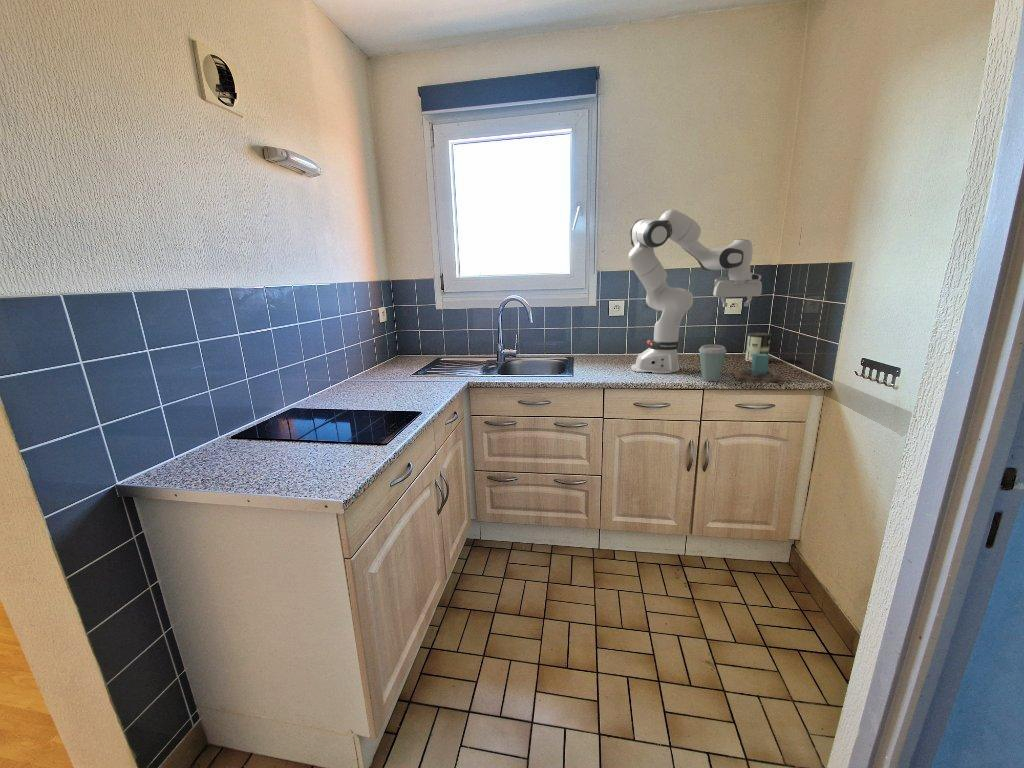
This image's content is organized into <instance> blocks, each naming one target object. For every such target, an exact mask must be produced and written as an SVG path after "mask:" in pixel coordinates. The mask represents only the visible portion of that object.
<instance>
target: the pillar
mask: <svg viewBox="0 0 1024 768" xmlns="http://www.w3.org/2000/svg"><path fill="white" fill-rule="evenodd" d="M769 360H770V355H769V354H768V355H767V354H753V358H752V362H751V367H750V369H751V373H757V374H767V370H768V366H769Z"/></svg>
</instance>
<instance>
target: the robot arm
mask: <svg viewBox="0 0 1024 768" xmlns="http://www.w3.org/2000/svg"><path fill="white" fill-rule="evenodd" d="M701 233H702V229H701V226H700V225H699V224H698V222H697V221H695V220H694V219H692V218H691V217H689V216H688V215H686V214H685V213H683V212H681V211H678V210H676V209H667V210H666V211H664V212H663V213H662V214H661V216H660V217H659V218H658V219H653V218H640V219H638V220H636V221H634V222H633V223H632V225H631V226H630V230H629V236H630V242H631V243H630V244H631V245H632V248H631V250H630V251H629V253H628V255H627V256H628V257H627V259H628V261H629V264H630V266H631V268H632V270H633V272H634V274H635V275H636V276H637V278H638V280H639V281H640V282H641V284H642V286H643V288H644V289H645V291H646V296H645V297H646V298H645V303H646V305H647V306H648V307H649V308H651V309H653V310H654V311H660V312H661V316H660V318H659V319H658V320H657V321H656V322H655V324H654V328H653V329H654V330H653V339H652V340H650V339H648V340H647V341H646V344H647V345H648V348H647V349H645V350H644V351H642V352H641V353H639V354H638V355H637V357H636V360H635V363H634V364H631V365H630V369H631V370H632V371H633V372H635V371H636V373H644V372H652V373H651V374H666V373H670V374H672V373H676V372H678V371H680V370H681V369H680V367H679V366H680V365H679V356H678V354H679V348H680V341H679V333H680V325H681V323H682V319H683V317H684V315H685V314H686V312H688V310H690V308H692V306H693V303H694V296H693V295H694V294H693V293H692V292H691V291H690V290H689V289H684V288H682V287H671V286H669V285H668V283H667V281H666V279H667V278H668V273H667V271H666V269H665V267H664V266H663V265H662V263H661V261H660V260H659V258H658V257H657V255H656V253H655V249H654V248H658V247H661V246H663V245H664V244H665V243H666V242H667V241H668V239H670V240H671V241H672V242H674V243H675V244H676V245H679V246H680V247H681V248H682V249H683V250H684V251H685V252H686V253H688V254H689V255H690V256H691V257H693V258H694V259H695V260H696V261H697V262H698V264H699V266H700V268H702V269H703V270H704V271H706V272H709V271H723V270H724V271H727V270H728V274H727V275H728V276H719V277H717V278H715V280H714V282H713V283H714V284H713V285H714V288H713V292H712V295H713V297H714V298H720V301H721V302H722V307H723V308H726V307H728V302H726V301H725V300H726V298H734V297H735V298H737V297H738V298H739V297H746V299H747V300H746V301H744V302H743V307H749V305H750V304H749V303H750V302H751V301H752V300H753V297H760V296H761V295H762V292H763V291H762V289H763V288H762V287H763V284H762V283H763V282H762V281H761V279H762V275H761V274H757V273H754V272H751V262H752V259H753V243H752V241H750V240H748V239H743V238H741V239H740V238H738V239H734V240H733V241H732V243H730V244H729V245H726V246H723V247H719V248H708V247H706V246H705V245H704V244H702V243H701V242H700V241H699V238H700V237H701Z"/></svg>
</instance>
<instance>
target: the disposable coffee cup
mask: <svg viewBox="0 0 1024 768" xmlns="http://www.w3.org/2000/svg"><path fill="white" fill-rule="evenodd" d="M698 352H699V358H700V359H699V361H700V371H701V379H702V381H704V380H706V381H705V382H709V381H715V382H718V381H719V380H720V379H721V374H722V369H723V365H724V361H725V358H726V354H727V349H726V347H725V346H724V345H721V344H713V343H711V344H704V345H701V346H700V347H699V349H698Z"/></svg>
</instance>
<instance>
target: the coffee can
mask: <svg viewBox="0 0 1024 768" xmlns="http://www.w3.org/2000/svg"><path fill="white" fill-rule="evenodd" d="M771 339H772V333H769V332H761V331H760V332H758V331H757V332H755V331H754V332H753V331H752V332H748V333H747V341H746V349H745V358H744V360H745V361H746V362H748V361H750V362H749V363H752V358H753V354H767V355H768V356H769V352H770V346H771Z"/></svg>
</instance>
